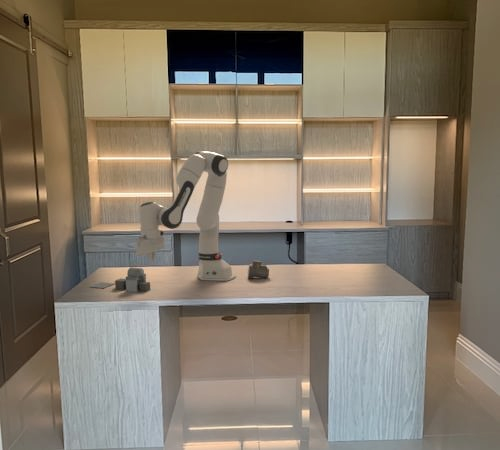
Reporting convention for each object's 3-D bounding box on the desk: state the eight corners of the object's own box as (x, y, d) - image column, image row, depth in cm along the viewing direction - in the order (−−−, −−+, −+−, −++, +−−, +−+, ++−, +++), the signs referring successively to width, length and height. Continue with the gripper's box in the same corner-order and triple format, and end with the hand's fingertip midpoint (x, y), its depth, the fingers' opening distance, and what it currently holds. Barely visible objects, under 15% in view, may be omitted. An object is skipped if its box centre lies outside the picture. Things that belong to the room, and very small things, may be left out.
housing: (146, 287, 234) (145, 266, 232) (136, 292, 225) (135, 270, 224) (136, 286, 236) (135, 265, 234) (126, 291, 227) (125, 269, 226)
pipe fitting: (247, 279, 247) (249, 261, 247) (246, 276, 255) (248, 259, 255) (268, 281, 247) (270, 263, 247) (267, 278, 255) (269, 261, 255)
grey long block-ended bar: (150, 289, 230) (150, 281, 229) (145, 291, 226) (145, 283, 225) (118, 286, 237) (118, 278, 236) (113, 288, 233) (112, 280, 232)
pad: (114, 284, 241) (114, 283, 241) (103, 288, 233) (103, 287, 233) (101, 283, 244) (101, 282, 244) (89, 287, 236) (89, 286, 236)
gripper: (142, 237, 213) (145, 265, 215) (166, 231, 232) (167, 257, 233) (132, 237, 215) (134, 265, 217) (155, 231, 234) (157, 256, 236)
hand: (151, 260), depth 225 cm, fingers closed
